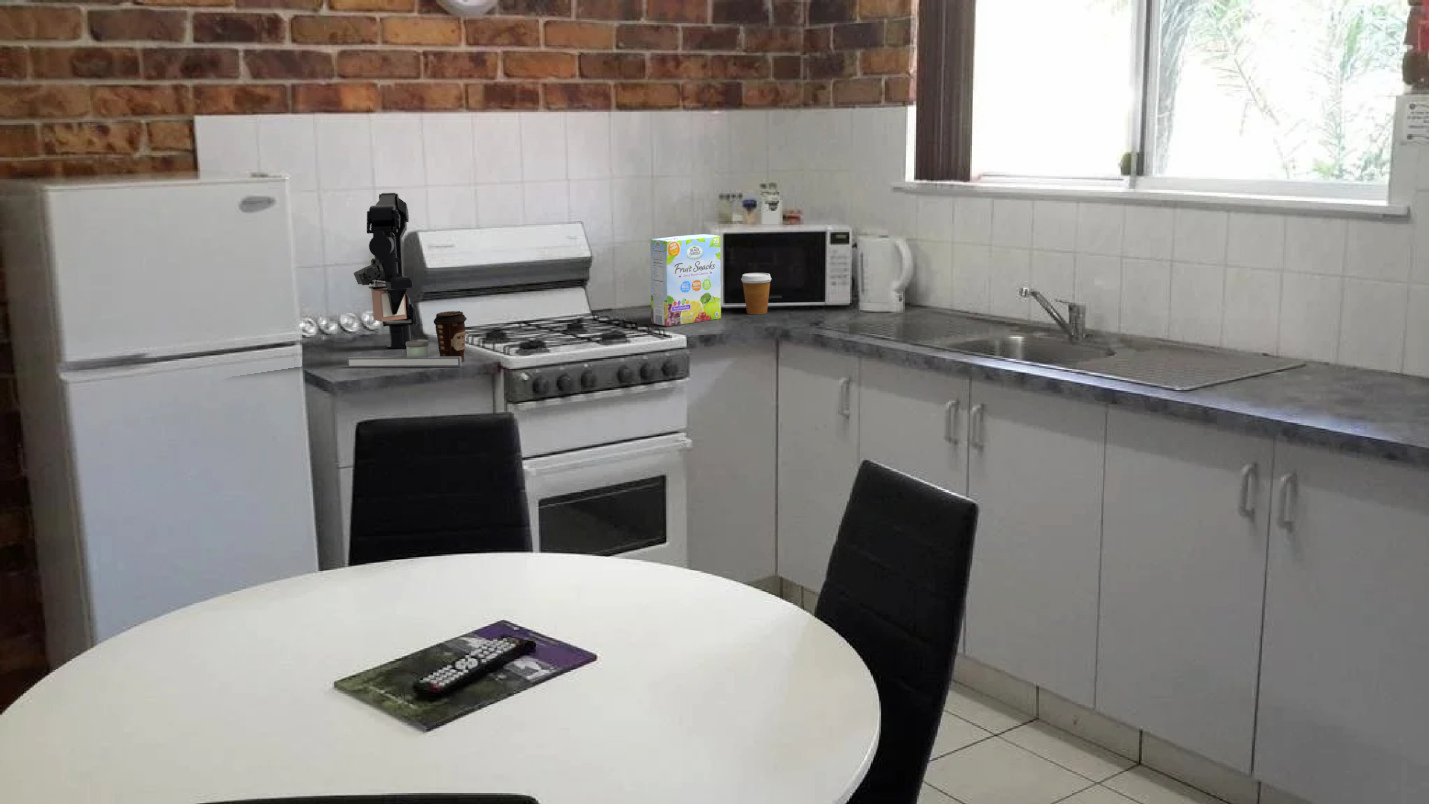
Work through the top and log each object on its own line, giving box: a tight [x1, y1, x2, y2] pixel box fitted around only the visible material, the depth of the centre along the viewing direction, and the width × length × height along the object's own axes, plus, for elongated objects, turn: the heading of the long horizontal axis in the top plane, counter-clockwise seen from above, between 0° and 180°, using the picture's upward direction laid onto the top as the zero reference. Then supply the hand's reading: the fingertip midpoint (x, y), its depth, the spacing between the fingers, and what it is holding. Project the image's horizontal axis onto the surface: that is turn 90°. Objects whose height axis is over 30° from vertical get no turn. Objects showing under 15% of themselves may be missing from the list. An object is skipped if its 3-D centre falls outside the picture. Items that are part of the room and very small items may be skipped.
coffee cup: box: [433, 310, 468, 363], centre depth 353 cm, size 9×8×13 cm
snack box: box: [650, 233, 722, 327], centre depth 407 cm, size 22×9×26 cm, turn 131°
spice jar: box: [406, 339, 430, 357], centre depth 352 cm, size 6×6×6 cm
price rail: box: [346, 356, 463, 368], centre depth 349 cm, size 2×30×2 cm, turn 84°
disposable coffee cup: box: [740, 272, 772, 315], centre depth 422 cm, size 10×10×12 cm
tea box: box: [371, 288, 407, 323], centre depth 356 cm, size 5×7×8 cm
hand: (390, 313), depth 357 cm, fingers closed on tea box, 5 cm apart
